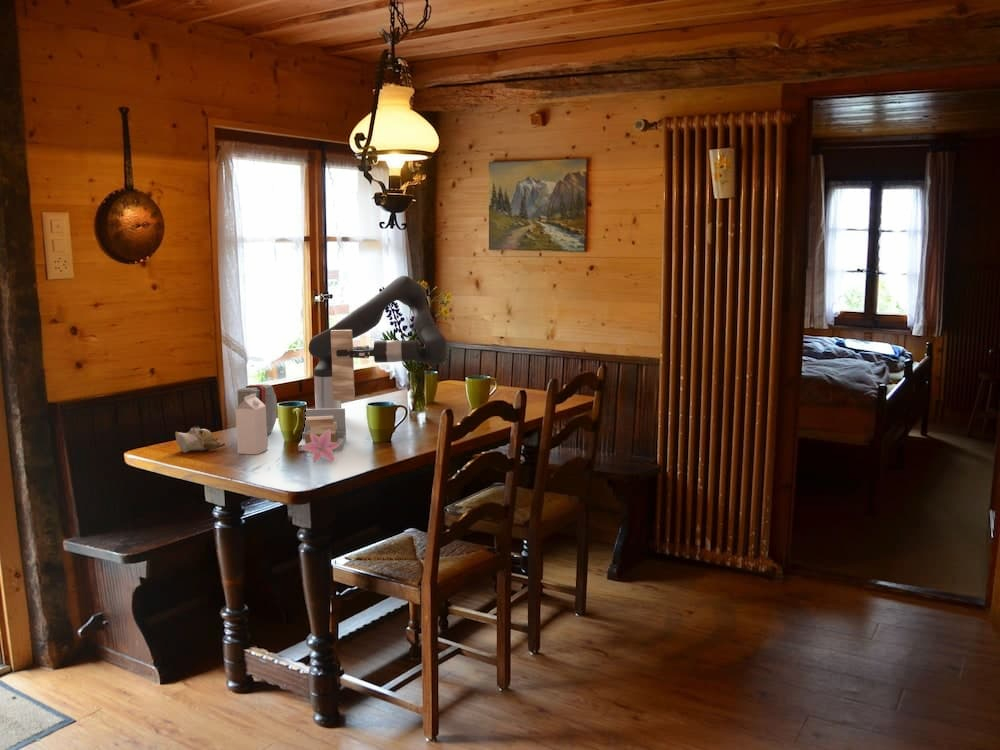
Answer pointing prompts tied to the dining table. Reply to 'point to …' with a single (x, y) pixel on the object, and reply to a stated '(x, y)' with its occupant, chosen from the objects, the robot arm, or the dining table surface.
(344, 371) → the wooden plank
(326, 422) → the offcut stack
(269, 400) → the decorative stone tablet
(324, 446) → the lily
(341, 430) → the slot rack
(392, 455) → the dining table surface
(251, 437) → the milk carton
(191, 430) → the ceramic sculpture
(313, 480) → the dining table surface
